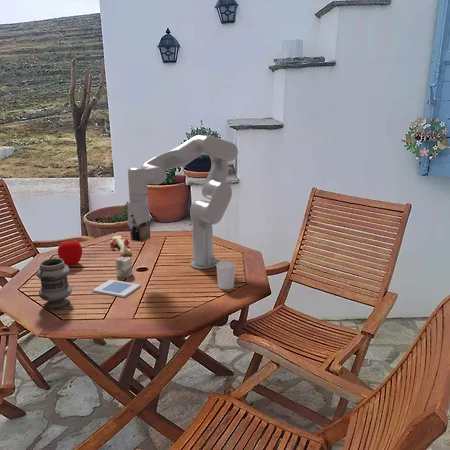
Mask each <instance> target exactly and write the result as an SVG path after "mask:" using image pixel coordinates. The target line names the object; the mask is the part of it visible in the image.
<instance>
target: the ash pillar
mask: <svg viewBox="0 0 450 450" xmlns="http://www.w3.org/2000/svg"><path fill="white" fill-rule="evenodd" d="M132 264H133V263H132V257H129V256H124V257H122V256H120V257H118V258H116V259H115V270H116V277H117V278H123V279H127V278H129V277H130V276H131V275H133V266H132Z"/></svg>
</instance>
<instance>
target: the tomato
mask: <svg viewBox="0 0 450 450" xmlns="http://www.w3.org/2000/svg"><path fill="white" fill-rule="evenodd" d="M82 255H83V247H82V245H81V243H80V242H79V241H77V240H76V239H67V240H65V241H63V242H61V243H60V244H59V245H58V248H57V256H58V258H60V259H63V261H64V264H66V265H67V266H68V267H73V266H77V265H78V264H79V263H80V261H81V259H82Z"/></svg>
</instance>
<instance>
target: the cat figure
mask: <svg viewBox="0 0 450 450" xmlns="http://www.w3.org/2000/svg"><path fill="white" fill-rule="evenodd" d="M108 243H109V246H110V247H111V248H112V249H115V247H114V246H118V247H119V249H120V250H119V254H120V257H123V256H124V257H126V255H127V256H128V257H129V256H132V255H133V252H132V251H131V249H130V248H128V246H129V245H130V242H129V239H127V238H125V237H123V236H122V235H114V236H112V237H111V240H110V241H108Z"/></svg>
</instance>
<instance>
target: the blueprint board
mask: <svg viewBox="0 0 450 450" xmlns="http://www.w3.org/2000/svg"><path fill="white" fill-rule="evenodd" d="M141 287H142V284H138V283H133V282H128V281H122V280H114V279H109V280H107V281H105V282H104V283H102V284H100V285H99V286H97V287H95V288H93V289H92V293H98V294H103V295H109V296H114V297H120V298H126V297H128V296H130V295H131V294H132V293H134V292H136V291H137V290H138V289H140V288H141Z"/></svg>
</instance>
